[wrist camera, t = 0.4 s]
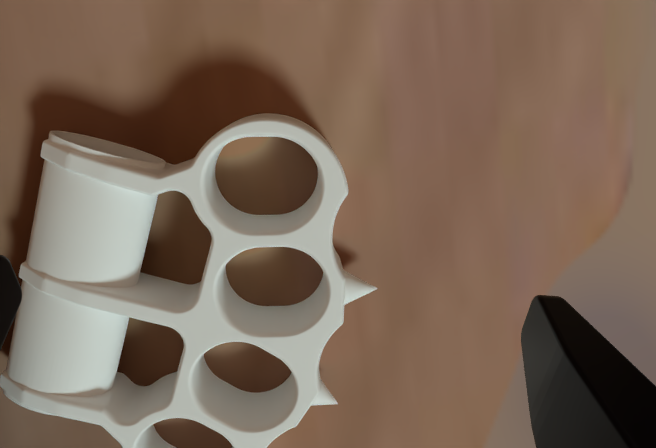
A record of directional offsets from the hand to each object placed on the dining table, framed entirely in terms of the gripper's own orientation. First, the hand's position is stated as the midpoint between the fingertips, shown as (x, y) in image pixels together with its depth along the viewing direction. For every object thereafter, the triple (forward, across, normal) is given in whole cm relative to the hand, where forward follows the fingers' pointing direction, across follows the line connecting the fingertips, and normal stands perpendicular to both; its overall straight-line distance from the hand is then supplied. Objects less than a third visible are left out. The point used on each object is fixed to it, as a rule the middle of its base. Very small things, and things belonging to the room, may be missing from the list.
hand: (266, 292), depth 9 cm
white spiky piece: (+11, +5, +11) cm, 17 cm away
